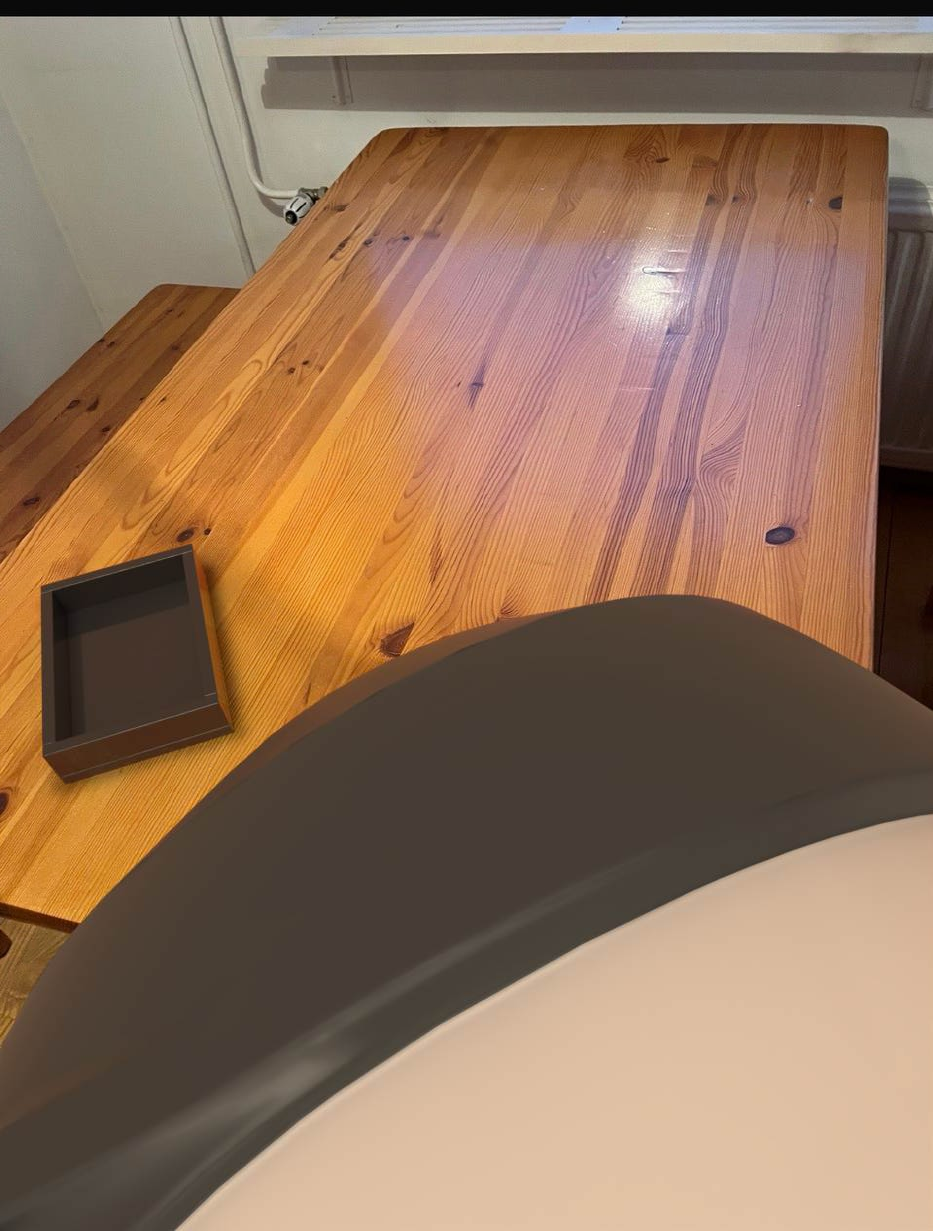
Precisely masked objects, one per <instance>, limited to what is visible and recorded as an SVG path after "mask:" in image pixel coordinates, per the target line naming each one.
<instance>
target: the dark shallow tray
mask: <svg viewBox="0 0 933 1231" xmlns="http://www.w3.org/2000/svg"><path fill="white" fill-rule="evenodd" d="M213 612H214V611H213V606H212V602H211V597H210V590H209V584H208V579H207V574H206V572H205V569H204V568H203V565H202V562H201V561H200V558H199V556H198V554H197V552H196V549H195V547H194V545H193V543H188V544H184V545H181V546H177V547H173V548H170V549H166V550H163V551H159V552H156V553H153V554H152V553H151V554H150V555H145V556H141V557H138V558H134V559H132V560H128V561H124V562H121V563H120V562H119V563H117V564H114V565H113V564H112V565H109V566H107V567H103V568H99V569H96V570H92V571H88V572H84V573H81V574H78V575H74V576H71V577H66V578H63V579H59V580H57V581H53V582H49V583H46V584H42V585H40V670H41V674H40V676H41V677H40V678H41V679H40V680H41V682H40V684H41V748H42V749H41V754H42V756H41V757H42V758H43V760H45V762H46V763H47V765H48V766H49V767H50V769H52V770H53V772H54V773H55V774H56V775H57V776H58V777H59V778H60V779H59V780H61V781H62V782H63V784H64V785H68V784H72V783H75V782H79V781H81V780H84V779H87V778H91V777H94V776H97V775H101V774H104V773H107V772H111V771H113V770H114V771H115V770H117V769H120V768H123V767H126V766H129V765H133V764H136V763H139V762H143V761H145V760H149V759H153V758H155V757H159V756H162V755H165V754H169V753H172V752H174V751H178V750H181V749H184V748H188V747H191V746H194V745H197V744H200V743H204V742H207V741H211V740H214V739H216V738H220V737H223V736H227V735H230V734H233V733H234V732H235V731H234V730H235V729H234V725H233V718H232V713H231V708H230V703H229V697H228V692H227V691H228V690H227V685H226V680H225V675H224V674H225V673H224V669H223V663H222V657H221V652H220V645H219V642H218V635H217V631H216V625H215V618H214V613H213Z"/></svg>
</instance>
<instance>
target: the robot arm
mask: <svg viewBox="0 0 933 1231" xmlns="http://www.w3.org/2000/svg"><path fill="white" fill-rule="evenodd" d="M0 1231H933V710H932V709H930V708H929V707H927V706H926V705H924V704H923V703H921V702H919V701H917V700H916V699H915V698H913V697H911V696H910V695H909V694H907V693H905V692H904V691H903V690H901V689H900V688H897V687H896V686H895V685H893V684H891V683H890V682H888V681H886V680H885V679H883V678H882V677H880V676H879V675H877V674H875V673H874V672H873V671H871V670H870V669H869V668H867V667H864V666H863V665H861V664H859V663H857V662H855V661H854V660H853V659H850V658H848V657H846V656H845V655H843V654H841V653H839V652H838V651H836V650H834V649H832V648H831V647H829V646H827V645H825V644H823V643H822V642H819V641H818V640H816V639H815V638H813V637H811V636H809V635H807V634H805V633H803V632H801V631H799V630H798V629H795V628H793V627H791V626H789V625H787V624H784V623H783V622H780V621H778V620H776V619H773V618H771V617H769V616H767V615H765V614H763V613H760V612H759V611H756V610H754V609H752V608H750V607H747V606H745V605H741V604H739V603H736V602H733V601H730V600H727V599H723V598H718V597H710V596H704V595H698V594H697V595H696V594H679V593H677V594H674V593H673V594H664V593H659V594H658V593H657V594H647V595H638V596H630V597H620V598H615V599H610V600H604V601H599V602H593V603H589V604H583V605H578V606H573V607H568V608H562V609H557V610H552V611H545V612H540V613H533V614H528V615H523V616H519V617H513V618H507V619H504V620H499V621H494V622H490V623H485V624H482V625H478V626H476V627H472V628H469V629H465V630H462V631H459V632H456V633H452V634H449V635H448V636H445V637H443V638H440V639H437V640H435V641H432V642H429V643H427V644H424V645H421V646H419V647H416V648H414V649H412V650H410V651H408V652H405V653H403V654H400V655H398V656H396V657H393V658H391V659H389V660H387V661H385V662H382V663H380V665H378V666H376V667H374V668H372V669H370V670H368V671H366V672H364V673H363V674H360V675H358V676H357V677H354V678H353V679H351V680H350V681H348V682H346V683H344V684H342V685H341V686H339V687H338V688H336V689H334V690H332V691H330V692H329V693H327V694H325V695H324V696H323V697H322V698H320V699H319V700H317V701H316V702H315V703H313V704H312V705H310V706H309V707H307V708H306V709H305V710H303V711H301V712H300V713H299V714H297V715H296V716H295V717H293V718H292V719H290V720H289V721H288V722H286V724H284V725H282V726H280V728H278V729H277V730H275V731H274V732H273V733H271V734H270V735H269V736H268V737H267V738H266V739H264V741H263V742H261V744H259V745H258V746H257V747H256V748H255V749H254V750H252V752H251V753H249V754H248V755H247V756H246V757H245V758H244V759H242V760H241V761H240V762H239V763H238V764H237V765H236V766H235V767H234V768H233V769H231V771H229V772H228V773H227V774H226V775H225V776H224V777H223V778H222V779H221V780H220V781H219V782H218V783H216V785H215V786H214V787H212V789H210V791H208V792H207V793H206V794H205V795H204V796H203V797H202V798H201V799H200V800H199V801H198V802H197V803H196V804H195V805H194V806H193V807H192V808H191V809H190V810H189V811H188V812H187V813H186V814H185V815H184V816H183V817H182V818H181V819H180V820H178V822H177V823H176V824H174V826H173V827H171V829H170V830H169V831H167V833H166V834H165V835H164V836H163V837H162V838H161V839H160V840H159V841H158V842H157V843H156V844H155V845H154V846H152V848H151V849H150V850H149V851H148V852H146V854H145V855H144V856H143V857H142V858H141V859H140V860H139V861H138V862H137V863H136V864H135V865H134V866H133V867H131V869H130V870H129V871H128V872H127V873H126V874H125V875H124V876H123V877H122V878H121V879H120V880H119V881H118V882H117V883H116V885H114V886H113V887H112V888H111V889H110V890H109V891H108V892H107V893H106V894H105V895H104V896H103V897H102V898H101V899H100V901H99V902H98V903H97V904H96V905H95V906H94V908H93V909H92V910H90V911H89V913H88V914H87V915H86V917H84V919H82V921H81V922H80V923H79V924H78V925H77V926H76V928H75V929H73V931H72V932H70V934H69V935H68V936H67V937H66V939H65V940H64V941H63V943H62V945H60V947H59V948H58V949H57V950H56V952H55V953H54V954H53V956H52V957H51V958H50V960H49V962H47V964H46V966H45V967H44V969H43V970H42V971H41V972H40V973H39V975H38V978H37V979H36V980H35V983H34V984H33V985H32V987H31V990H30V991H29V993H28V994H27V996H26V998H25V1000H24V1002H23V1003H22V1005H21V1008H20V1010H19V1011H18V1014H17V1015H16V1018H15V1019H14V1022H13V1024H12V1026H11V1027H10V1029H9V1031H8V1033H7V1036H6V1037H5V1039H4V1041H3V1043H2V1045H1V1047H0Z"/></svg>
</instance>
